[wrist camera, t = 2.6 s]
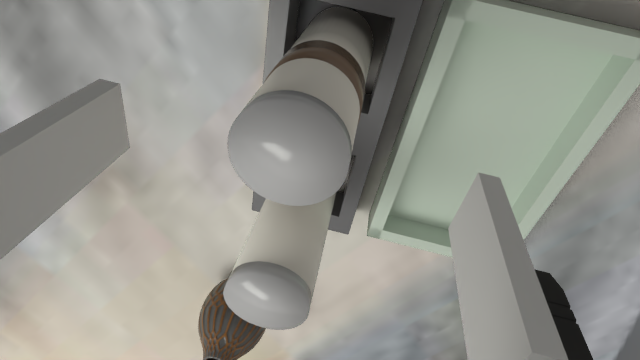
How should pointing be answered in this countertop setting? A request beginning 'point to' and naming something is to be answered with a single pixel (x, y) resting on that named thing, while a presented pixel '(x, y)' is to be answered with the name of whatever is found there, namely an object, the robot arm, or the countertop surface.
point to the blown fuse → (306, 113)
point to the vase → (225, 329)
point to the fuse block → (404, 9)
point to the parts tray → (501, 114)
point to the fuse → (279, 265)
